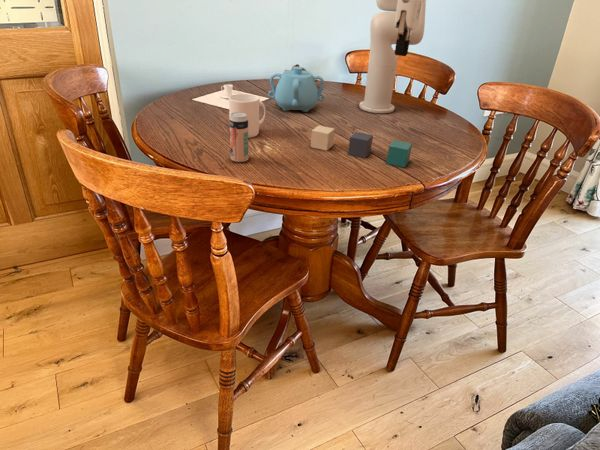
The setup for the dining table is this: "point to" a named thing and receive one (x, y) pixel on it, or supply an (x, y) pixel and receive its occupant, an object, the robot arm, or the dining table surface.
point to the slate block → (360, 144)
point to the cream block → (322, 137)
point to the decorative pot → (296, 90)
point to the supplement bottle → (238, 137)
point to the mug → (248, 110)
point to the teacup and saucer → (222, 97)
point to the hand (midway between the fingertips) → (400, 54)
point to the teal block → (399, 153)
